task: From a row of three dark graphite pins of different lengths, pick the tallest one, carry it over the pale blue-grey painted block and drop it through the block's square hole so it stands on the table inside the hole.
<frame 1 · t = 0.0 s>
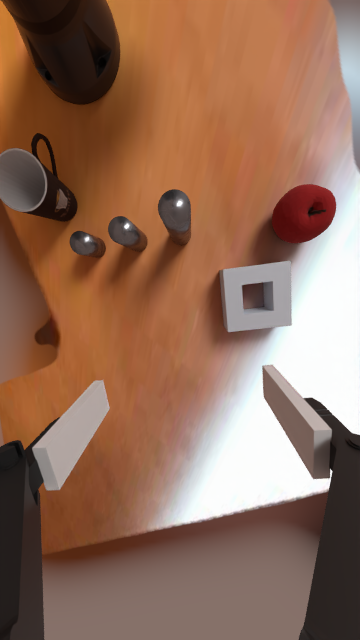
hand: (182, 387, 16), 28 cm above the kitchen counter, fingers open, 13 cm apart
hole block: (250, 295, 41), on the kitchen counter
coffee mug: (67, 198, 39), on the kitchen counter
apple: (288, 222, 38), on the kitchen counter
long pin: (180, 234, 40), on the kitchen counter
medium pin: (137, 241, 40), on the kitchen counter
short pin: (96, 247, 41), on the kitchen counter
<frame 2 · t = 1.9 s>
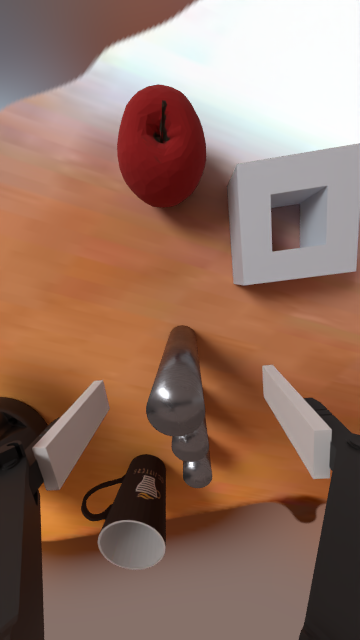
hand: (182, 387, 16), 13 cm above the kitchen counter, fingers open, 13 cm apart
hole block: (277, 230, 25), on the kitchen counter
coffee mug: (141, 463, 34), on the kitchen counter
apple: (166, 177, 25), on the kitchen counter
long pin: (182, 338, 29), on the kitchen counter
medium pin: (189, 392, 31), on the kitchen counter
short pin: (195, 440, 33), on the kitchen counter
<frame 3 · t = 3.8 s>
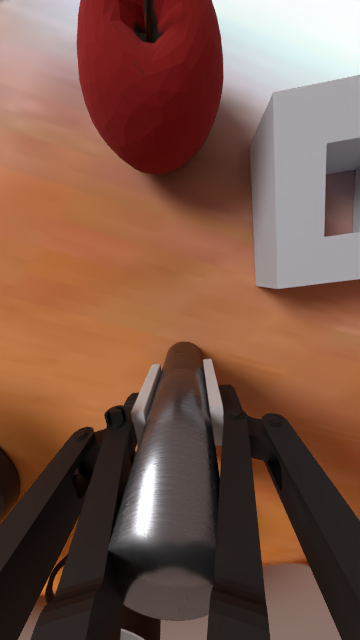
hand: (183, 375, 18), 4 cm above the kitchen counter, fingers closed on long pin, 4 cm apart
hole block: (320, 210, 18), on the kitchen counter
coffee mug: (132, 511, 27), on the kitchen counter
apple: (163, 134, 17), on the kitchen counter
long pin: (184, 359, 21), on the kitchen counter, touching gripper
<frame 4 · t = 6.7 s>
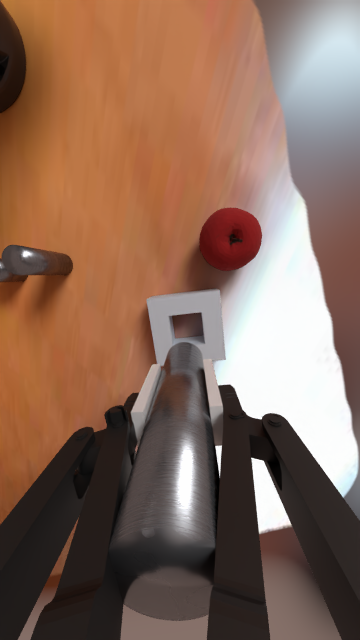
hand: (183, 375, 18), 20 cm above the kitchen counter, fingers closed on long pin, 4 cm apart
hole block: (187, 323, 38), on the kitchen counter
apple: (224, 245, 35), on the kitchen counter
long pin: (184, 359, 21), point 17 cm above the kitchen counter, touching gripper
medium pin: (62, 264, 37), on the kitchen counter
short pin: (18, 270, 37), on the kitchen counter
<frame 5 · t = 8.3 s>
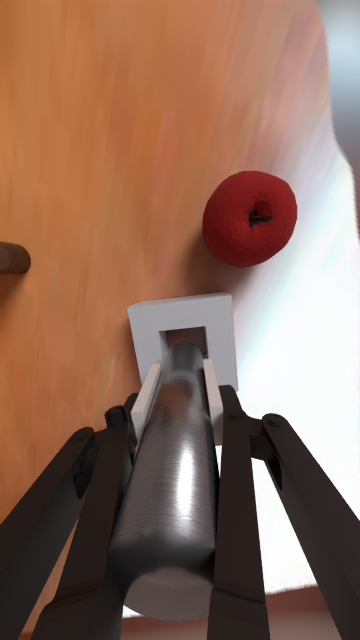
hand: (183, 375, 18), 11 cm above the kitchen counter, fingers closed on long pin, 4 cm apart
hole block: (185, 337, 28), on the kitchen counter
apple: (236, 232, 25), on the kitchen counter
long pin: (184, 359, 21), point 7 cm above the kitchen counter, touching gripper
medium pin: (16, 259, 27), on the kitchen counter
when the fingers open (7 cm above the kitchen counter, at t = 9.8 s): long pin drops 3 cm, resting in hole block.
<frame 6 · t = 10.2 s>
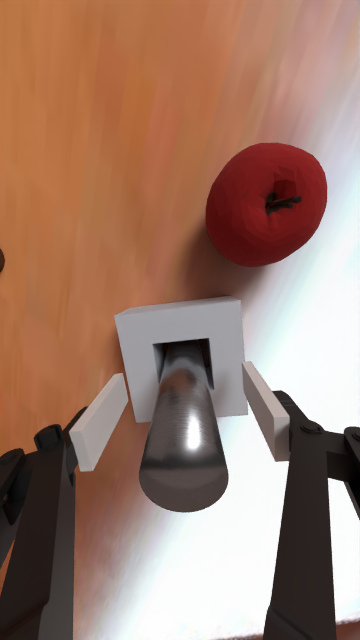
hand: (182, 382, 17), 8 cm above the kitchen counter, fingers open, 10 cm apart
hole block: (185, 349, 24), on the kitchen counter
apple: (245, 225, 21), on the kitchen counter
long pin: (184, 349, 24), resting in hole block
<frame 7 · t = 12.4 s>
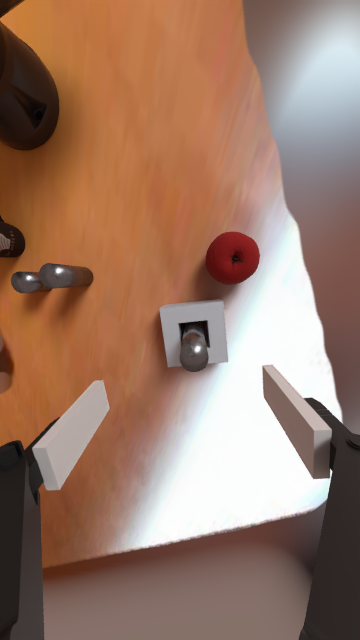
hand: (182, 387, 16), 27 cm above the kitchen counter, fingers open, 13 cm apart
hole block: (194, 329, 42), on the kitchen counter
coffee mug: (15, 236, 41), on the kitchen counter
apple: (227, 261, 39), on the kitchen counter
long pin: (193, 329, 42), resting in hole block
medium pin: (84, 276, 42), on the kitchen counter
short pin: (45, 282, 42), on the kitchen counter
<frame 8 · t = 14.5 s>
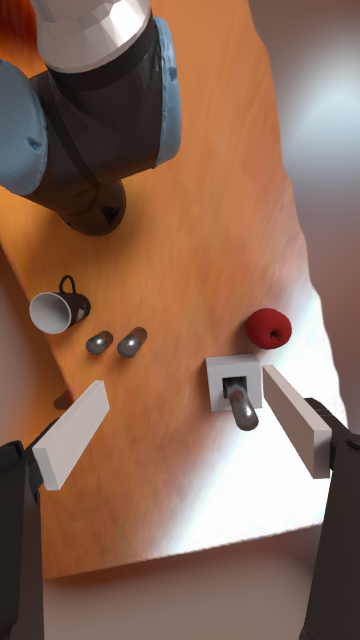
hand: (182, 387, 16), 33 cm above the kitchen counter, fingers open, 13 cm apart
hole block: (230, 376, 51), on the kitchen counter
coffee mug: (82, 301, 49), on the kitchen counter
apple: (260, 323, 48), on the kitchen counter
long pin: (230, 376, 51), resting in hole block
medium pin: (139, 334, 50), on the kitchen counter
short pin: (105, 338, 50), on the kitchen counter
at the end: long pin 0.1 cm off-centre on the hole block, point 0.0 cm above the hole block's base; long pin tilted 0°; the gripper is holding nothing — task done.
